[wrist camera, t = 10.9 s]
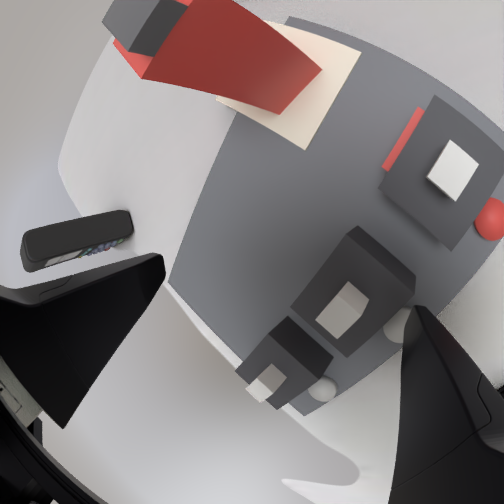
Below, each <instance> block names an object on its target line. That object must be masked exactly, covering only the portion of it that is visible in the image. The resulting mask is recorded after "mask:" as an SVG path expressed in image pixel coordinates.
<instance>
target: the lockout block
mask: <svg viewBox="0 0 504 504" xmlns="http://www.w3.org/2000/svg"><path fill="white" fill-rule="evenodd" d="M102 23H103V24H104V25H105V27H106V28H107V29H108V30H109V31H110V32H111V33H112V34H113V36H114V37H115V40H114V42H113V44H114V46H115V47H116V48H117V49H118V51H119V52H120V53H121V54H122V56H123V57H124V58H125V59H126V61H127V62H128V63H129V64H130V66H131V67H132V68H133V69H134V71H135V72H136V73H137V74H138V76H139V77H140V78H141V79H146V80H152V81H157V82H163V83H168V84H173V85H178V86H182V87H187V88H191V89H195V90H200V91H204V92H207V93H211V94H215V95H219V96H222V97H226V98H229V99H233V100H236V101H239V102H243V103H246V104H249V105H252V106H255V107H258V108H261V109H264V110H267V111H270V112H273V113H275V114H278V115H280V114H281V113H282V112H283V111H284V110H285V108H286V107H287V106H288V105H289V104H290V103H291V102H292V101H293V100H294V99H295V98H296V97H297V96H298V94H299V93H300V92H301V91H302V90H303V89H304V88H305V87H306V86H307V85H308V84H309V83H310V82H311V81H312V80H313V79H314V78H315V77H316V76H317V75H318V74H319V73H320V72H321V71H322V69H321V68H320V67H319V66H318V65H317V64H316V63H315V62H314V61H313V60H311V59H310V58H309V57H308V56H307V55H306V54H305V53H304V52H302V51H301V50H300V49H299V48H298V47H296V46H295V45H294V44H293V43H292V42H290V41H289V40H288V39H287V38H285V37H284V36H283V35H282V34H280V33H279V32H278V31H276V30H275V29H274V28H272V27H271V26H270V25H268V24H267V23H266V22H264V21H263V20H261V19H260V18H258V17H257V16H256V15H254V14H253V13H251V12H250V11H248V10H247V9H245V8H244V7H242V6H240V5H239V4H237V3H236V2H234V1H232V0H114V1H113V3H112V5H111V6H110V8H109V10H108V12H107V13H106V15H105V17H104V19H103V21H102Z"/></svg>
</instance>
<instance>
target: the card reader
mask: <svg viewBox="0 0 504 504" xmlns="http://www.w3.org/2000/svg"><path fill="white" fill-rule="evenodd" d="M131 231H132V224H131V220H130V217H129V214H128V212H126V211H124V210H116V211H111V212H106V213H101V214H96V215H92V216H87V217H82V218H78V219H73V220H69V221H64V222H60V223H56V224H51V225H47V226H44V227H39V228H36V229H32V230H29V231H27V232H26V233H25V234H24V235H23V238H22V244H21V249H20V255H21V259H22V263H23V267H24V269H25V271H27V272H34V271H37V270H40V269H43V268H46V267H50V266H53V265H56V264H58V263H62V262H65V261H68V260H72V259H75V258H81V257H82V256H84V255H88V256H90V255H92V254H96V253H98V252H102V251H107V250H109V249H110V247H113V246H115V245H116V244H117V243H120V242H122V241H123V239H125V238H127V237H128V236H129V235H130V234H131Z"/></svg>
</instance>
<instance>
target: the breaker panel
mask: <svg viewBox="0 0 504 504" xmlns="http://www.w3.org/2000/svg"><path fill="white" fill-rule="evenodd" d="M263 21H264V22H266V23H267V24H268V25H270V26H271V27H272V28H274V29H275V30H276V31H278V32H279V33H280V34H282V35H283V36H284V37H285V38H287V39H288V40H289V41H290V42H292V43H293V44H294V45H295V46H296V47H298V48H299V49H300V50H301V51H302V52H304V53H305V54H306V55H307V56H308V57H309V58H310V59H311V60H313V61H314V62H315V63H316V64H317V65H318V66H319V67H320V68H321V69H322V71H321V72H320V73H319V74H318V75H317V76H316V77H315V78H314V79H313V80H312V81H311V82H310V83H309V84H308V85H307V86H306V87H305V88H304V89H303V90H302V91H301V92H300V93H299V94H298V96H297V97H296V98H295V99H294V100H293V101H292V102H291V103H290V104H289V105H288V106H287V107H286V108H285V110H284V111H283V112H282V113H281V114H280V115H278V114H275V113H273V112H270V111H267V110H264V109H261V108H258V107H255V106H252V105H249V104H246V103H243V102H239V101H236V100H233V99H229V98H226V97H222V96H219V95H217V97H216V99H215V100H217V101H219V102H221V103H223V104H225V105H227V106H229V107H231V108H232V109H234V110H236V111H238V112H237V114H236V116H235V118H234V120H233V122H232V124H231V126H230V128H229V131H228V133H227V135H226V137H225V139H224V141H223V144H222V146H221V148H220V150H219V152H218V155H217V157H216V159H215V161H214V164H213V166H212V168H211V171H210V173H209V175H208V178H207V180H206V182H205V185H204V187H203V190H202V192H201V194H200V197H199V199H198V202H197V204H196V207H195V209H194V212H193V214H192V217H191V219H190V222H189V225H188V227H187V230H186V232H185V235H184V238H183V240H182V243H181V246H180V249H179V251H178V254H177V257H176V260H175V262H174V265H173V268H172V271H171V274H170V277H169V280H168V283H169V284H170V285H171V286H172V287H173V289H174V290H175V291H176V292H177V293H178V294H179V295H180V296H181V298H182V299H183V300H184V301H185V302H186V303H187V304H188V305H189V306H190V307H191V309H192V310H193V311H194V312H195V313H196V314H197V315H198V316H199V317H200V318H201V319H202V320H203V321H204V322H205V324H206V325H207V326H208V327H209V328H210V329H211V330H212V331H213V332H214V333H215V334H216V335H217V336H218V337H219V338H220V339H221V340H222V341H223V342H224V343H225V344H226V345H227V346H228V347H229V348H230V349H231V350H232V351H233V352H234V353H235V354H236V355H237V356H238V357H239V358H240V359H241V360H242V361H243V363H242V364H241V365H240V366H239V367H238V368H237V369H236V370H235V372H236V373H237V374H238V375H239V376H240V377H241V378H243V379H244V380H245V381H246V382H247V383H248V384H249V386H248V387H247V388H246V390H247V391H248V392H249V393H250V394H251V395H252V396H253V397H254V398H255V399H256V400H257V401H259V402H260V403H261V402H263V401H264V400H266V401H267V402H269V403H270V404H271V405H272V406H273V407H274V408H275V409H279V408H281V407H282V406H284V405H285V404H287V403H289V404H290V405H292V406H293V407H294V408H295V409H296V410H297V411H299V412H300V413H301V414H302V415H303V416H306V415H307V414H309V413H311V412H312V411H314V410H316V409H317V408H319V407H321V406H322V405H324V404H325V403H327V402H329V401H330V400H332V399H333V398H335V397H336V396H338V395H339V394H341V393H342V392H344V391H345V390H347V389H348V388H350V387H351V386H353V385H354V384H356V383H357V382H358V381H360V380H361V379H362V378H364V377H365V376H367V375H368V374H369V373H371V372H372V371H373V370H375V369H376V368H377V367H378V366H380V365H381V364H382V363H384V362H385V361H386V360H387V359H389V358H390V357H391V356H392V355H393V354H395V353H396V352H397V351H398V350H399V349H401V348H402V347H403V336H404V327H405V324H406V321H407V319H408V317H409V314H410V312H411V309H412V307H413V306H414V305H422V306H426V307H427V308H428V309H429V311H430V312H431V313H432V314H433V315H434V316H435V317H436V316H437V315H438V314H439V313H440V312H441V311H442V310H443V309H444V308H445V307H446V305H447V304H448V303H449V302H450V301H451V300H452V299H453V298H454V297H455V296H456V295H457V294H458V293H459V292H460V290H461V289H462V288H463V287H464V286H465V285H466V284H467V282H468V281H469V280H470V279H471V278H472V277H473V275H474V274H475V273H476V272H477V271H478V269H479V268H480V267H481V266H482V264H483V263H484V262H485V261H486V259H487V258H488V257H489V255H490V254H491V253H492V251H493V250H494V249H495V247H496V246H497V244H498V243H499V242H500V240H501V239H502V237H503V236H504V132H503V131H502V130H501V129H500V128H499V127H498V126H497V125H496V124H495V123H494V122H492V121H491V120H490V119H489V118H488V117H487V116H486V115H484V114H483V113H482V112H481V111H480V110H478V109H477V108H476V107H475V106H473V105H472V104H471V103H469V102H468V101H467V100H466V99H464V98H463V97H462V96H460V95H459V94H457V93H456V92H455V91H453V90H452V89H450V88H449V87H447V86H446V85H445V84H443V83H442V82H440V81H438V80H437V79H435V78H434V77H432V76H431V75H429V74H427V73H426V72H424V71H422V70H421V69H419V68H417V67H415V66H414V65H412V64H410V63H408V62H407V61H405V60H403V59H401V58H399V57H397V56H395V55H393V54H391V53H389V52H387V51H385V50H383V49H381V48H379V47H377V46H374V45H372V44H370V43H368V42H365V41H363V40H360V39H358V38H356V37H353V36H351V35H348V34H345V33H343V32H340V31H337V30H334V29H331V28H328V27H325V26H322V25H319V24H316V23H313V22H309V21H306V20H302V19H299V18H295V17H291V16H289V18H288V19H287V21H286V23H285V24H284V25H282V24H278V23H274V22H270V21H266V20H263Z"/></svg>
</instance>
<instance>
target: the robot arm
mask: <svg viewBox="0 0 504 504" xmlns="http://www.w3.org/2000/svg"><path fill="white" fill-rule="evenodd" d="M165 276H166V271H165V265H164V259H163V256H162V255H161V254H157V253H149V254H145V255H141V256H138V257H134V258H131V259H127V260H123V261H120V262H116V263H112V264H109V265H105V266H101V267H98V268H94V269H91V270H88V271H84V272H80V273H77V274H74V275H70V276H66V277H63V278H59V279H56V280H52V281H48V282H45V283H40V284H36V285H32V286H28V287H24V288H19V289H11V288H7V287H4V286H1V285H0V504H50V503H51V502H52V500H53V499H54V500H55V501H56V502H57V503H59V504H108V503H107V502H105V501H104V500H102V499H101V498H100V497H98V496H97V495H96V494H95V493H93V492H92V491H91V490H89V489H88V488H87V487H86V486H84V485H83V484H82V483H81V482H80V481H78V480H77V479H76V478H75V477H74V476H73V475H72V474H70V473H69V472H68V471H67V470H66V469H65V468H64V467H63V466H62V465H61V464H60V463H58V462H57V461H56V460H55V459H54V458H53V457H52V456H51V455H50V454H49V453H48V452H47V451H46V449H45V448H44V447H43V445H42V421H41V420H40V419H39V418H38V417H37V416H38V415H39V414H40V413H41V412H42V411H44V412H45V413H46V414H47V415H48V416H49V417H50V418H51V419H52V420H53V421H55V423H56V424H57V425H58V426H60V427H61V428H62V429H64V428H65V426H66V425H67V423H68V421H69V420H70V418H71V417H72V415H73V414H74V412H75V411H76V409H77V407H78V406H79V404H80V403H81V401H82V400H83V398H84V397H85V395H86V394H87V392H88V391H89V388H90V387H91V386H92V384H93V383H94V382H95V380H96V379H97V377H98V376H99V374H100V373H101V371H102V370H103V368H104V367H105V365H106V364H107V363H108V361H109V360H110V358H111V357H112V355H113V354H114V353H115V351H116V350H117V348H118V347H119V345H120V344H121V343H122V341H123V340H124V339H125V337H126V336H127V334H128V333H129V332H130V330H131V329H132V328H133V326H134V325H135V323H136V322H137V321H138V319H139V318H140V317H141V315H142V314H143V313H144V311H145V310H146V309H147V307H148V305H149V304H150V302H151V301H152V299H153V297H154V296H155V294H156V292H157V291H158V289H159V287H160V286H161V284H162V283H163V281H164V279H165ZM388 504H504V386H503V387H502V388H501V389H500V390H498V391H496V389H495V388H494V387H493V385H492V384H491V383H490V382H489V380H488V379H487V378H486V376H485V375H484V374H483V373H482V371H481V370H480V369H479V367H478V366H477V365H476V364H475V362H474V361H473V360H472V359H471V357H470V356H469V355H468V354H467V353H466V351H465V350H464V349H463V348H462V347H461V345H460V344H459V343H458V342H457V341H456V340H455V338H454V337H453V336H452V335H451V334H450V333H449V332H448V330H447V329H446V328H445V327H444V326H443V325H442V324H441V323H440V321H439V320H438V319H437V318H436V317H435V316H434V315H433V314H432V313H431V312H430V311H429V309H428V308H427V307H426V306H422V305H414V306H413V307H412V309H411V312H410V314H409V317H408V319H407V321H406V324H405V327H404V336H403V351H402V362H401V397H400V420H399V434H398V444H397V454H396V462H395V469H394V475H393V481H392V487H391V492H390V497H389V501H388Z"/></svg>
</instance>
